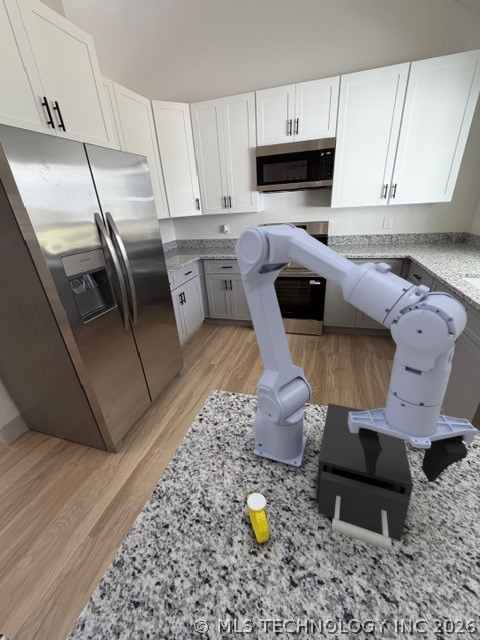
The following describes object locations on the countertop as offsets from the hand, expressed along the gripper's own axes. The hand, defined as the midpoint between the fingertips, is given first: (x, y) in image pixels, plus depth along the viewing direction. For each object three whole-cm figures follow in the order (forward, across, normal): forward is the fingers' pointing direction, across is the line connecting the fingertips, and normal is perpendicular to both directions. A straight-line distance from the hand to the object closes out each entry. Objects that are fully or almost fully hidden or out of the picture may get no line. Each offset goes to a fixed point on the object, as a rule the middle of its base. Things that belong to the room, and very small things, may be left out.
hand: (398, 472), depth 39 cm
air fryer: (+10, -3, +7) cm, 13 cm away
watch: (+10, -20, -4) cm, 23 cm away
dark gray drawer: (+9, -4, +2) cm, 10 cm away
